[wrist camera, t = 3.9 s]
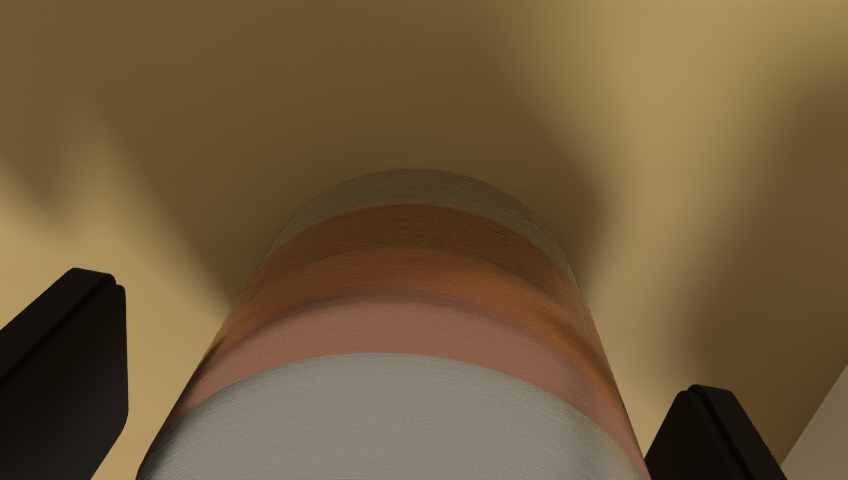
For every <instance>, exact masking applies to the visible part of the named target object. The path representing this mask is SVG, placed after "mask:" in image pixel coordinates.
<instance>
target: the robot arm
mask: <svg viewBox="0 0 848 480" xmlns="http://www.w3.org/2000/svg"><path fill="white" fill-rule="evenodd" d="M127 416H128V371H127V332H126V294H125V289H124V287H123V286H122V285H117V284H116V280H115V278H114V276H113V275H111V274H107V273H102V272H97V271H91V270H86V269H81V268H72V269H70V270H69V271H67V272H66V273H65V274H64V275H63V276H62V277H60V278H59V279H58V280H57V281H56V282H55V283H54V284H52V285H51V286H50V287H49V288H48V289H47V290H46V291H44V292H43V293H42V294H41V295H40V296H39V297H38V298H36V299H35V300H34V301H33V302H32V303H31V304H30V305H28V306H27V307H26V308H25V309H24V310H23V311H22V312H21V313H19V314H18V315H17V316H16V317H15V318H14V319H13V320H11V321H10V322H9V323H8V324H7V325H6V326H5V327H3V328H2V329H1V330H0V480H91V478H92V477H93V475H94V473H95V472H96V470H97V469H98V467H99V466H100V464H101V463H102V461H103V460H104V458H105V457H106V455H107V454H108V452H109V451H110V449H111V448H112V446H113V445H114V443H115V442H116V440H117V439H118V437H119V436H120V434H121V432H122V430H123V428H124V426H125V424H126V420H127ZM644 461H645V463H646V466H647V469H648V472H649V474H650V477H651V480H788V479H787V478H786V476H785V475H784V473H783V472H782V470H781V468H780V467H779V465H778V464H777V462H776V460H775V459H774V457H773V456H772V454H771V452H770V451H769V449H768V448H767V446H766V445H765V443H764V441H763V440H762V438H761V437H760V435H759V433H758V432H757V430H756V429H755V427H754V426H753V424H752V422H751V421H750V419H749V418H748V416H747V414H746V413H745V411H744V410H743V408H742V406H741V405H740V403H739V402H738V400H737V399H736V397H735V396H734V394H733V393H732V392H730V391H728V390H725V389H720V388H714V387H709V386H704V385H698V384H695V385H692V386H690V387H689V388H688V390H687V391H681V392H679V393H678V394H677V396H676V397H675V399H674V401H673V403H672V405H671V407H670V409H669V411H668V413H667V415H666V417H665V419H664V421H663V423H662V425H661V427H660V429H659V431H658V433H657V435H656V437H655V439H654V441H653V443H652V445H651V446H650V448H649V450H648V452H647V454H646V456H645V458H644Z"/></svg>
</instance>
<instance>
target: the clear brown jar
mask: <svg viewBox="0 0 848 480" xmlns="http://www.w3.org/2000/svg"><path fill="white" fill-rule="evenodd" d="M136 480H651V477H650V474H649V472H648V469H647V466H646V463H645V461H644V458H643V455H642V453H641V450H640V447H639V444H638V442H637V439H636V436H635V433H634V431H633V428H632V425H631V422H630V420H629V417H628V414H627V411H626V409H625V406H624V403H623V401H622V398H621V395H620V392H619V390H618V387H617V384H616V381H615V379H614V376H613V373H612V370H611V368H610V365H609V362H608V359H607V357H606V354H605V351H604V349H603V346H602V343H601V340H600V338H599V335H598V332H597V329H596V327H595V324H594V321H593V318H592V316H591V313H590V310H589V308H588V306H587V304H586V302H585V300H584V299H583V297H582V295H581V293H580V291H579V289H578V286H577V283H576V280H575V277H574V275H573V272H572V269H571V266H570V263H569V261H568V259H567V257H566V255H565V253H564V251H563V249H562V247H561V245H560V244H559V242H558V241H557V239H556V238H555V237H554V235H553V234H552V233H551V231H550V230H549V229H548V227H547V226H546V225H545V224H544V223H543V222H542V221H541V220H540V219H539V218H538V217H537V216H536V215H535V214H534V213H533V212H532V211H531V210H529V209H528V208H527V207H525V206H524V205H523V204H521V203H520V202H519V201H518V200H516V199H515V198H513V197H511V196H510V195H508V194H506V193H504V192H503V191H501V190H499V189H497V188H495V187H493V186H491V185H488V184H486V183H483V182H481V181H479V180H476V179H473V178H470V177H466V176H462V175H459V174H455V173H450V172H444V171H437V170H430V169H400V170H391V171H382V172H378V173H373V174H369V175H365V176H361V177H358V178H355V179H353V180H350V181H347V182H345V183H342V184H339V185H337V186H336V187H334V188H332V189H330V190H328V191H326V192H325V193H323V194H321V195H319V196H318V197H317V198H315V199H314V200H313V201H311V202H310V203H308V204H307V205H306V206H304V207H303V208H302V209H301V210H300V211H299V212H298V213H297V214H296V215H295V216H294V217H293V218H292V219H291V220H290V221H289V222H288V224H287V225H286V226H285V228H284V229H283V230H282V232H281V233H280V234H279V236H278V237H277V239H276V240H275V242H274V244H273V245H272V247H271V249H270V251H269V252H268V254H267V256H266V257H265V259H264V261H263V262H262V263H261V265H260V266H259V267H258V269H257V270H256V271H255V273H254V274H253V275H252V277H251V278H250V279H249V281H248V282H247V284H246V286H245V287H244V289H243V291H242V292H241V294H240V296H239V297H238V299H237V301H236V302H235V304H234V306H233V307H232V309H231V311H230V313H229V314H228V316H227V318H226V319H225V321H224V323H223V324H222V326H221V328H220V329H219V331H218V333H217V334H216V336H215V338H214V339H213V341H212V343H211V345H210V346H209V348H208V350H207V351H206V353H205V355H204V356H203V358H202V360H201V361H200V363H199V365H198V366H197V368H196V370H195V371H194V373H193V375H192V377H191V378H190V380H189V382H188V383H187V385H186V387H185V388H184V390H183V392H182V393H181V395H180V397H179V398H178V400H177V402H176V404H175V405H174V407H173V409H172V410H171V412H170V414H169V415H168V417H167V419H166V420H165V422H164V424H163V425H162V427H161V429H160V430H159V432H158V434H157V436H156V437H155V439H154V441H153V442H152V444H151V446H150V448H149V449H148V451H147V453H146V455H145V457H144V459H143V461H142V463H141V465H140V467H139V469H138V472H137V476H136Z"/></svg>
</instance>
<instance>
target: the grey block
mask: <svg viewBox="0 0 848 480" xmlns="http://www.w3.org/2000/svg"><path fill="white" fill-rule="evenodd" d="M780 468H781V470H782V472H783V473H784V475H785V476H786V478H787V479H788V480H848V364H847V366H846V367H845V369H844V370H843V372H842V373H841V375H840V376H839V378H838V379H837V381H836V382H835V384H834V385H833V387H832V388H831V390H830V391H829V393H828V395H827V396H826V398H825V399H824V401H823V402H822V404H821V405H820V407H819V408H818V410H817V411H816V413H815V414H814V416H813V417H812V419H811V420H810V422H809V423H808V425H807V427H806V428H805V430H804V431H803V433H802V434H801V436H800V437H799V439H798V440H797V442H796V443H795V445H794V446H793V448H792V449H791V451H790V452H789V454H788V455H787V457H786V458H785V460H784V462H783V463H782V465H781V466H780Z"/></svg>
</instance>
